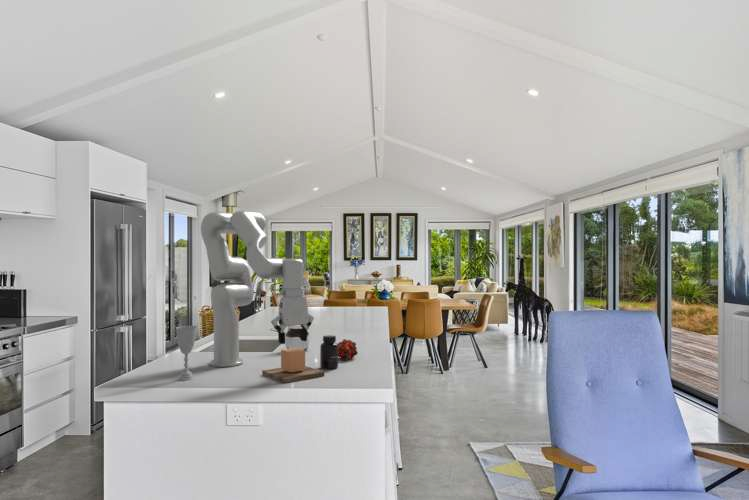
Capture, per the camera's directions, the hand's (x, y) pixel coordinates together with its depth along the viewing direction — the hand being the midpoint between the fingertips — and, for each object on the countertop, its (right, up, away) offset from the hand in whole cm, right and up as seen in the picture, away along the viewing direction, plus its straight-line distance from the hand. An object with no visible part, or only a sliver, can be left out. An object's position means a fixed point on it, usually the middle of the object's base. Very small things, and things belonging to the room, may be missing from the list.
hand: (293, 341), depth 190 cm
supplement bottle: (+12, -12, +12) cm, 21 cm away
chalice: (-37, -12, -4) cm, 39 cm away
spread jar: (-5, -12, +45) cm, 47 cm away
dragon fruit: (+18, -12, +29) cm, 36 cm away
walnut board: (0, -12, 0) cm, 12 cm away
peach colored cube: (0, -10, 0) cm, 10 cm away
